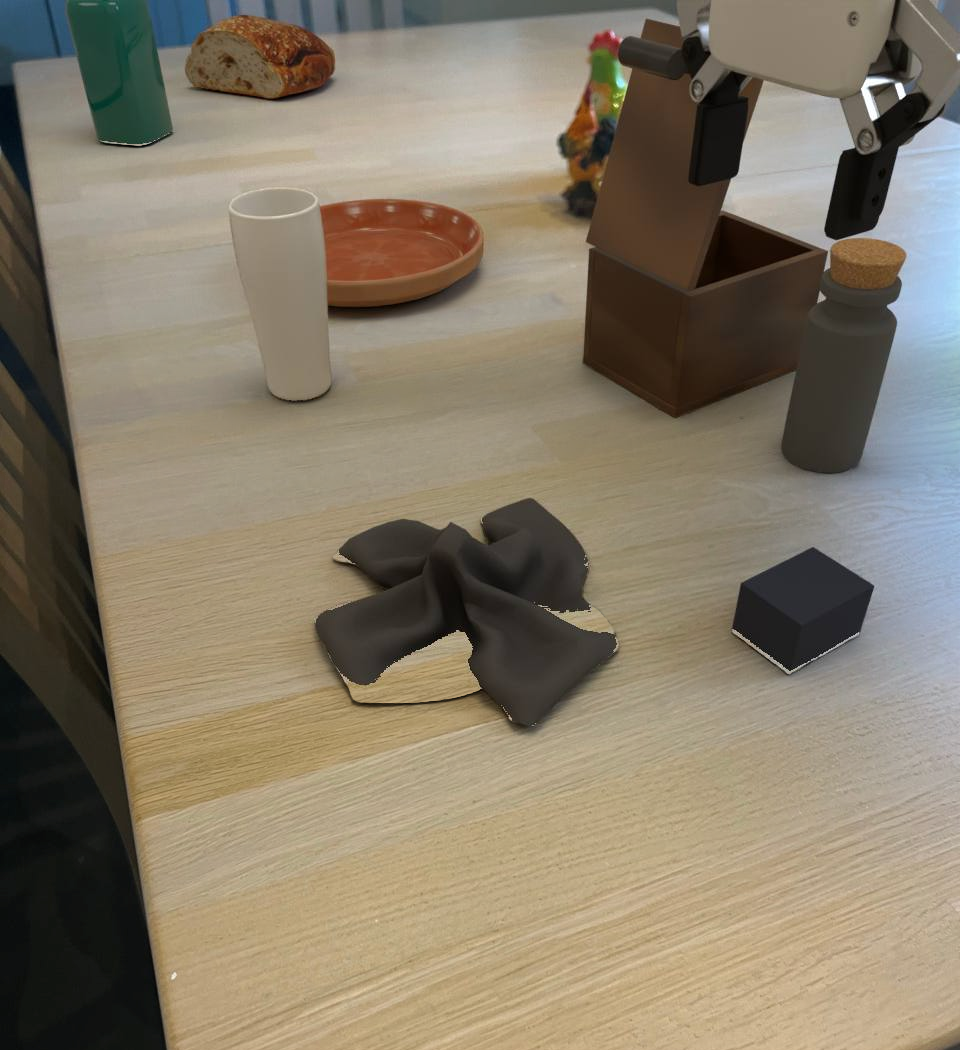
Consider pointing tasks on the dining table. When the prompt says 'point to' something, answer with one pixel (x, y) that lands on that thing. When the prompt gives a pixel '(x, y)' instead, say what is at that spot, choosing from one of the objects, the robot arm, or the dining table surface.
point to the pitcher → (120, 69)
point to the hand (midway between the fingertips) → (777, 205)
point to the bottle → (843, 356)
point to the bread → (259, 58)
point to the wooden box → (703, 317)
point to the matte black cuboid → (802, 607)
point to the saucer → (396, 250)
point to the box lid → (658, 165)
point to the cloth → (473, 605)
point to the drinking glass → (285, 286)
